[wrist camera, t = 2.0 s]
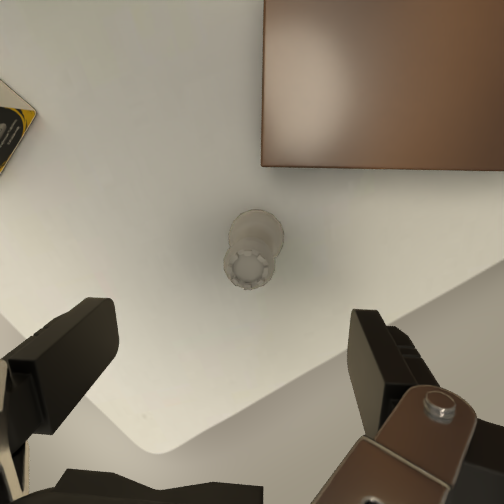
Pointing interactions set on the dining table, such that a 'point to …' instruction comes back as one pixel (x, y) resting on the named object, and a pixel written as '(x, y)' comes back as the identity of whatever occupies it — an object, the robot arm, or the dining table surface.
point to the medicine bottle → (12, 122)
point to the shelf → (383, 84)
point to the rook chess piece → (253, 249)
